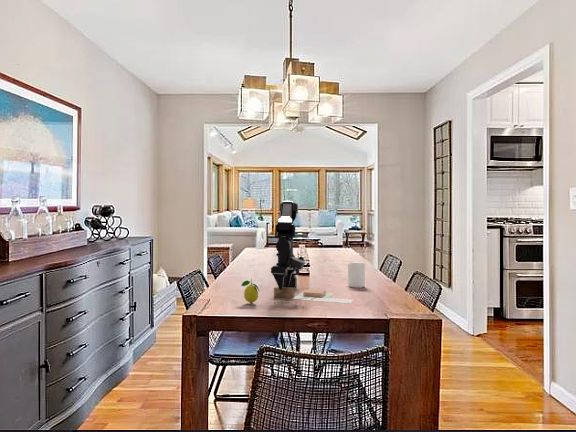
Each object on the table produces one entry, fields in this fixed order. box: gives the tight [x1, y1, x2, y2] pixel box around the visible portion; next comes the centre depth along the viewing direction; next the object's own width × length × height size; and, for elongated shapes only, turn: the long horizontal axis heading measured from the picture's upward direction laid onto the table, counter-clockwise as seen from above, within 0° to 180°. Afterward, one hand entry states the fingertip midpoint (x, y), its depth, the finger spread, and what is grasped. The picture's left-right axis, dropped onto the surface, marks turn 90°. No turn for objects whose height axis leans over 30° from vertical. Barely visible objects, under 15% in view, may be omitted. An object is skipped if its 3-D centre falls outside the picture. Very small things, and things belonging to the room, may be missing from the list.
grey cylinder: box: [347, 260, 366, 289], centre depth 250 cm, size 8×8×12 cm
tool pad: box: [311, 297, 355, 304], centre depth 213 cm, size 16×8×1 cm, turn 73°
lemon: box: [241, 278, 261, 305], centre depth 206 cm, size 7×6×10 cm
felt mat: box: [296, 290, 335, 298], centre depth 225 cm, size 14×12×1 cm
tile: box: [302, 288, 327, 298], centre depth 224 cm, size 8×2×8 cm
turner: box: [273, 286, 315, 302], centre depth 217 cm, size 16×7×4 cm, turn 73°
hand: (284, 287), depth 219 cm, fingers open, 9 cm apart
